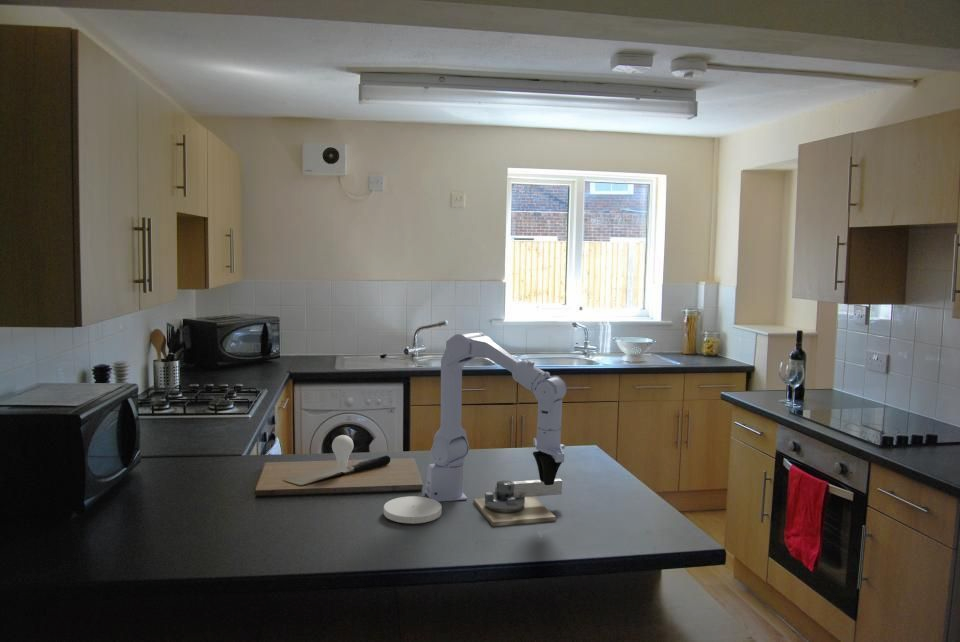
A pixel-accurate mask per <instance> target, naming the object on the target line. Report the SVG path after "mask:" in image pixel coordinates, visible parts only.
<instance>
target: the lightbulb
mask: <svg viewBox="0 0 960 642" xmlns="http://www.w3.org/2000/svg"><path fill="white" fill-rule="evenodd" d="M331 443H332V444H331V448H332V449H331V450H332V453H333V454H334V456H335V459H336V464H337V469H338V468H346V467H347V468H348V464H349V458H350V456H351V455H352V452H353V450H354V445H355V444H354V440H353V439H352V438H351V437H350V436H349V435H345V434H341V435H338V436H336V437H335V438H334V439H333V440H332V442H331Z"/></svg>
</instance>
